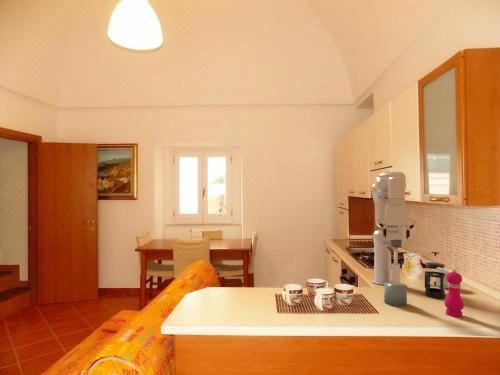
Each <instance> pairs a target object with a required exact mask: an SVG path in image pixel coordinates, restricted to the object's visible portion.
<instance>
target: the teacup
mask: <svg viewBox="0 0 500 375" xmlns="http://www.w3.org/2000/svg"><path fill="white" fill-rule="evenodd" d="M430 270H432V271H431V272H435V269H430ZM436 272H440V273H444V274H445V277H444V278H443V284H444V287H443V290H444V289H445V290H447V288H448V289H449V287H448V283H449V282H448V281H447V279H446V276H447V274H448V273H450V272H452V269H449V268H444V269H443V268H440V267H438V268H436ZM433 275H435V274H433ZM436 275H437V274H436ZM433 282H435V277H433ZM436 283H440V278H436ZM438 289H440V287H438Z"/></svg>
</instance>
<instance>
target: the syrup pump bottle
mask: <svg viewBox="0 0 500 375" xmlns="http://www.w3.org/2000/svg"><path fill="white" fill-rule="evenodd" d="M400 275H401V265H400V264H399V263H398V265H394V263H391V280H392V282H385V283H384V285H383V288H384V290H383V292H384V295H383V302H385V304H386V305H388V306H391V305H392V307H398V306H403V307H406V306H408V302H407V301H408V285H407V284H405V283H402V282H401V281H400V280H401V279H400V278H401V276H400Z"/></svg>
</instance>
